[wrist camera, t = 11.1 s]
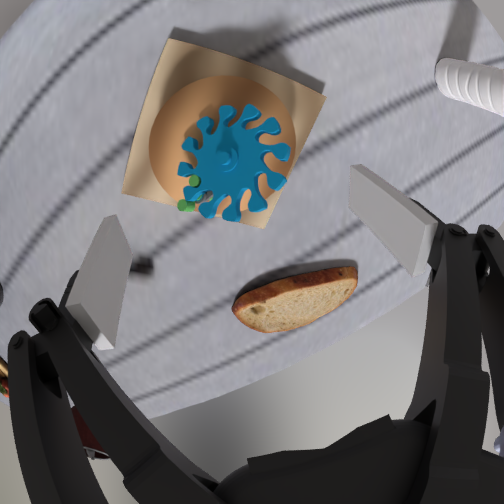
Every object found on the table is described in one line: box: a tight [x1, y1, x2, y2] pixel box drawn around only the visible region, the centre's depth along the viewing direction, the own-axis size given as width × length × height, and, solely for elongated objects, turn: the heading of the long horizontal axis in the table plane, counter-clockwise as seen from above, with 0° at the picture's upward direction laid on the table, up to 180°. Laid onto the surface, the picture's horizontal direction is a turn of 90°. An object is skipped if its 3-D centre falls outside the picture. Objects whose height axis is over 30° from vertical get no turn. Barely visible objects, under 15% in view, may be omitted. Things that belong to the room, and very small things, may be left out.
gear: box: [177, 104, 291, 222], centre depth 24 cm, size 11×6×10 cm
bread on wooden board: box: [122, 38, 327, 229], centre depth 27 cm, size 18×18×6 cm
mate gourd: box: [71, 406, 111, 460], centre depth 49 cm, size 16×14×20 cm
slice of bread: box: [232, 266, 358, 333], centre depth 45 cm, size 18×18×4 cm
